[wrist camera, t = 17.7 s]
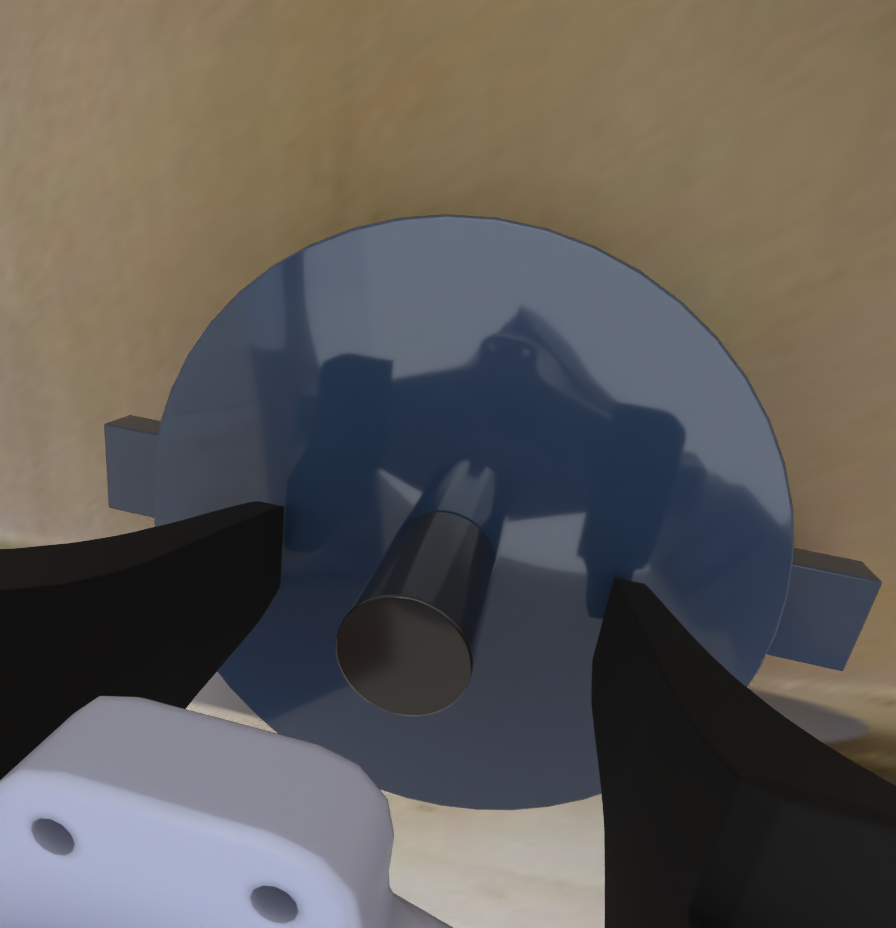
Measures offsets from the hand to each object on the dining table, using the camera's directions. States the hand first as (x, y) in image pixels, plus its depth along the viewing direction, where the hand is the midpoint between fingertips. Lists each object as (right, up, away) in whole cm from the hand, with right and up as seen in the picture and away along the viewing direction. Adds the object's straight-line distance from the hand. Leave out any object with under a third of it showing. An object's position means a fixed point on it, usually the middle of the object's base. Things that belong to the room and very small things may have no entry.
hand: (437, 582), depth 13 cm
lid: (0, +1, +1) cm, 1 cm away
